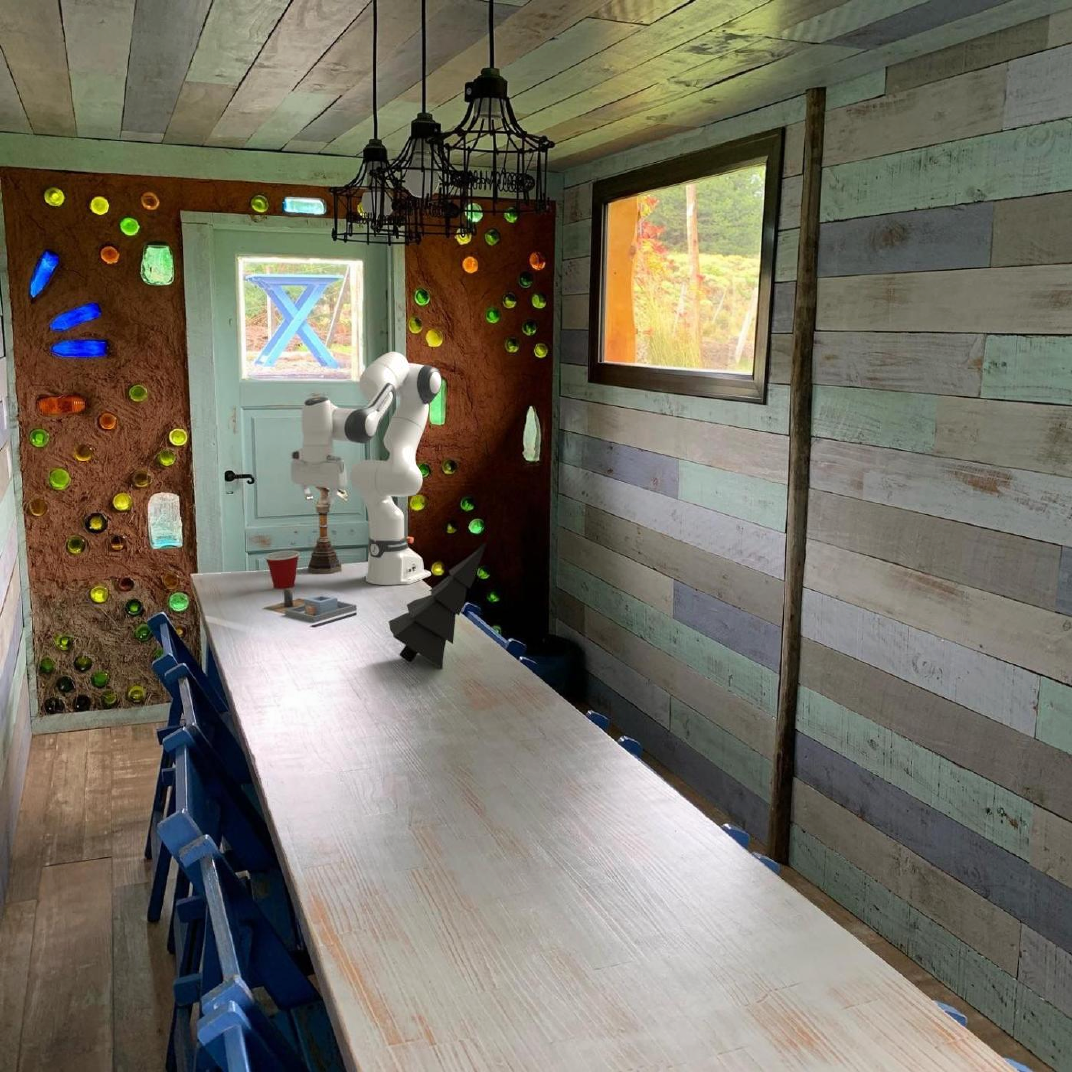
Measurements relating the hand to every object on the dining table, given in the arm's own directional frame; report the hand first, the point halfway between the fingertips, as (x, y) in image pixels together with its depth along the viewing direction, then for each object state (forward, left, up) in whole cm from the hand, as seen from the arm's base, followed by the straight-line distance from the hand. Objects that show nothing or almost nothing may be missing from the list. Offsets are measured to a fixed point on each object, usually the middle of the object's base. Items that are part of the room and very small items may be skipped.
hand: (319, 501), depth 315 cm
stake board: (+10, -2, -31) cm, 33 cm away
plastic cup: (-4, -22, -31) cm, 39 cm away
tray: (+10, +10, -31) cm, 34 cm away
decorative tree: (+19, +62, -31) cm, 72 cm away
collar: (+10, +10, -30) cm, 34 cm away
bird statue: (-34, -32, -31) cm, 56 cm away
